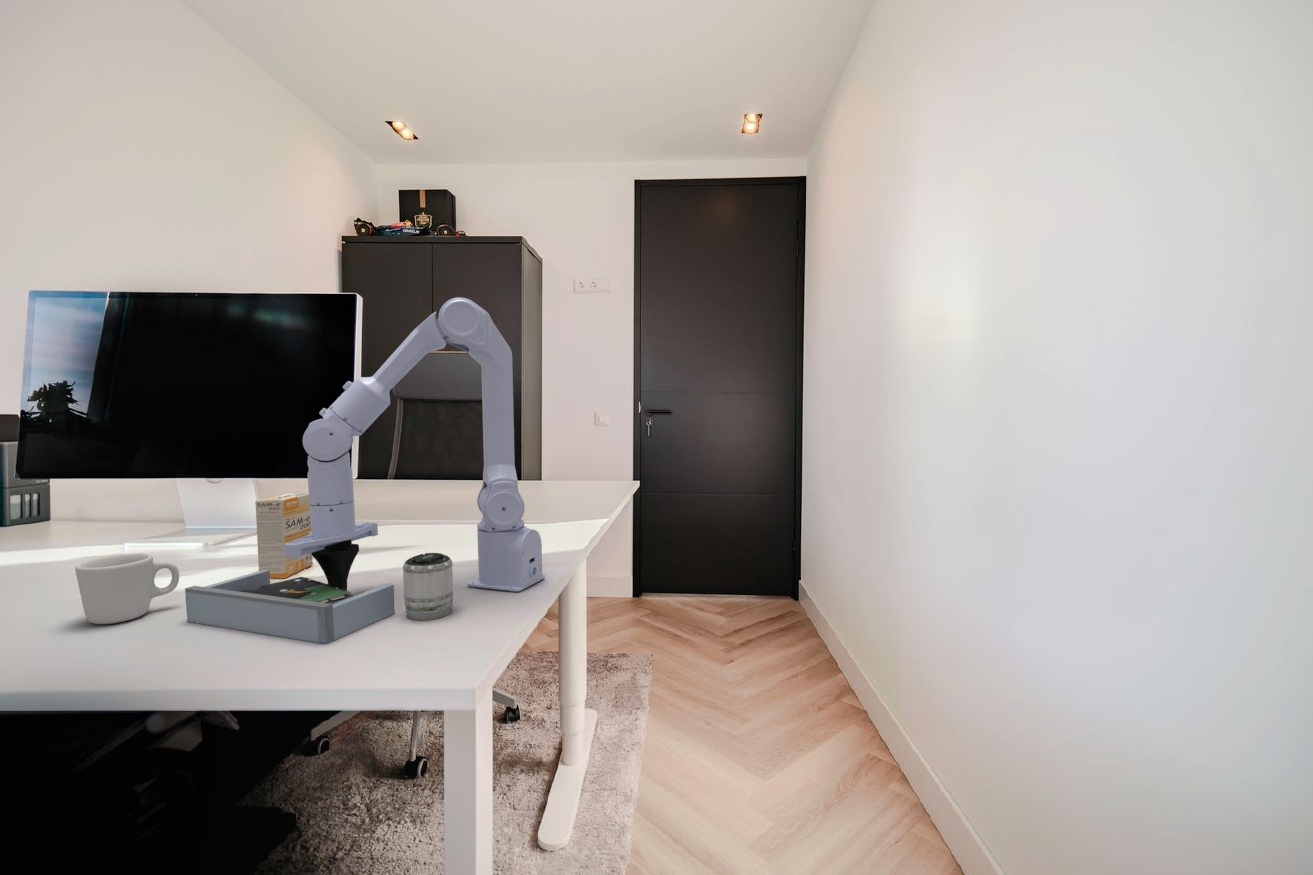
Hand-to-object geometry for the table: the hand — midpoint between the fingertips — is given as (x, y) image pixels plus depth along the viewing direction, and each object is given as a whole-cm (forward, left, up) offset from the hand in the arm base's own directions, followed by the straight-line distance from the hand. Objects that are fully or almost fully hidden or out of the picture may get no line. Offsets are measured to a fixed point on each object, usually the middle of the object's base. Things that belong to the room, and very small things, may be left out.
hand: (337, 594), depth 92 cm
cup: (+22, +14, -1) cm, 26 cm away
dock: (0, +7, -1) cm, 7 cm away
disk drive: (+3, +5, -1) cm, 6 cm away
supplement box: (+21, -9, -1) cm, 23 cm away
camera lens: (-16, 0, -1) cm, 17 cm away
